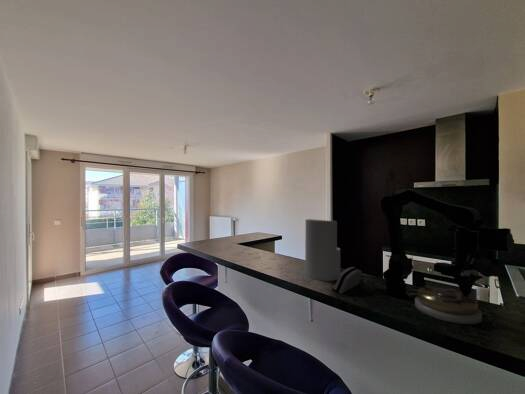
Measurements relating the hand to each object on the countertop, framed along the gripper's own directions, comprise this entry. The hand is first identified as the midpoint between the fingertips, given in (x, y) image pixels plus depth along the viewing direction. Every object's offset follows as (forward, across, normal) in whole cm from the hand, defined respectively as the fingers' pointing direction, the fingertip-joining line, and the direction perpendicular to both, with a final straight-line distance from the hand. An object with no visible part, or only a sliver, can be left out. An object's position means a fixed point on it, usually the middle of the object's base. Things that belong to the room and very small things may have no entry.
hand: (465, 296), depth 75 cm
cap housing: (+7, 0, +6) cm, 9 cm away
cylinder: (+8, -25, +51) cm, 57 cm away
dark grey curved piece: (+8, -22, +32) cm, 40 cm away
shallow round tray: (+5, 0, +6) cm, 8 cm away
